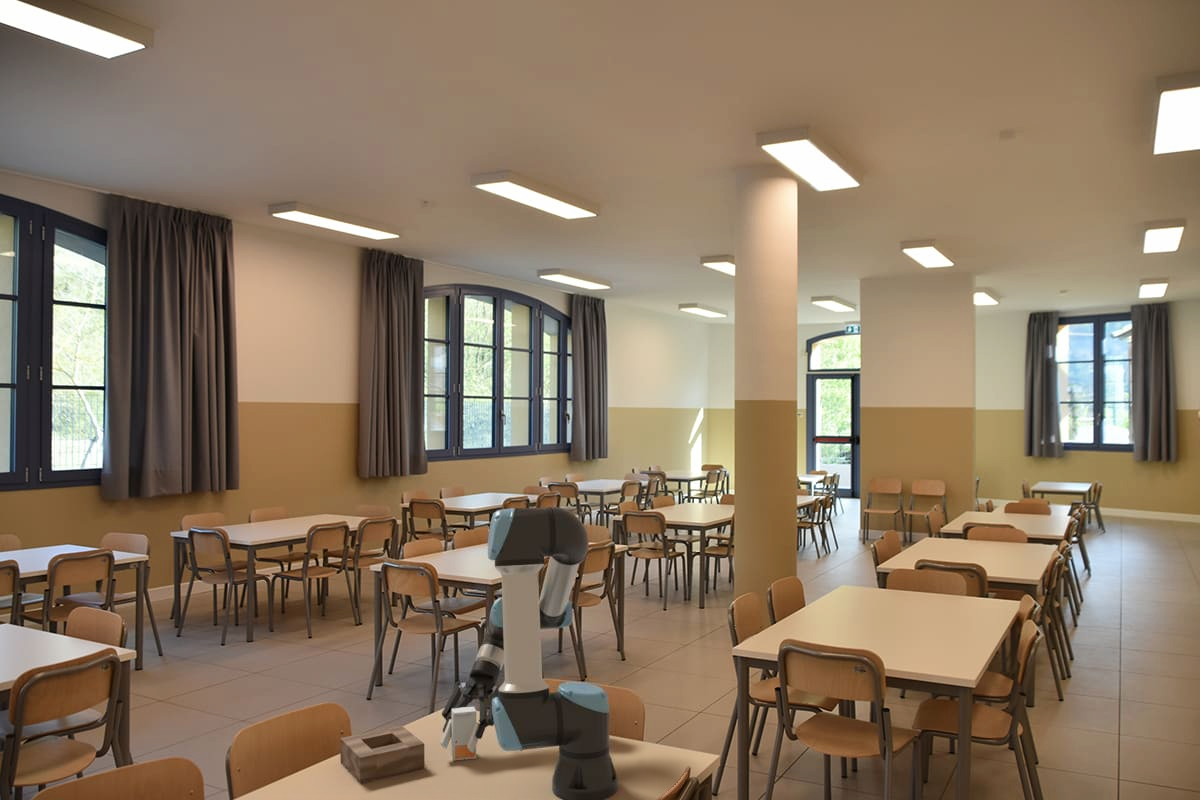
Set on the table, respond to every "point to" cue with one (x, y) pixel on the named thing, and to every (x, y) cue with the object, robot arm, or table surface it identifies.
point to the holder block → (381, 753)
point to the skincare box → (462, 732)
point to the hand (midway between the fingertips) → (456, 747)
